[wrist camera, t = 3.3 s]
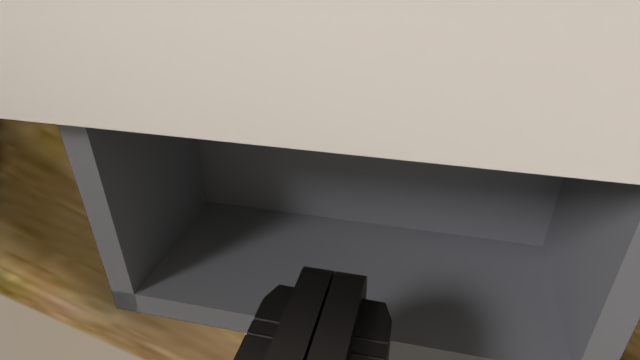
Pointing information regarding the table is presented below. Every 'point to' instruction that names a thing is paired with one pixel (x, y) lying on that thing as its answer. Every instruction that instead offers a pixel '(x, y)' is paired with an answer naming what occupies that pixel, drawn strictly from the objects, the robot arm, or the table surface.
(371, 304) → the robot arm
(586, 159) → the mailer sleeve
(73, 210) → the table surface
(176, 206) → the tray
